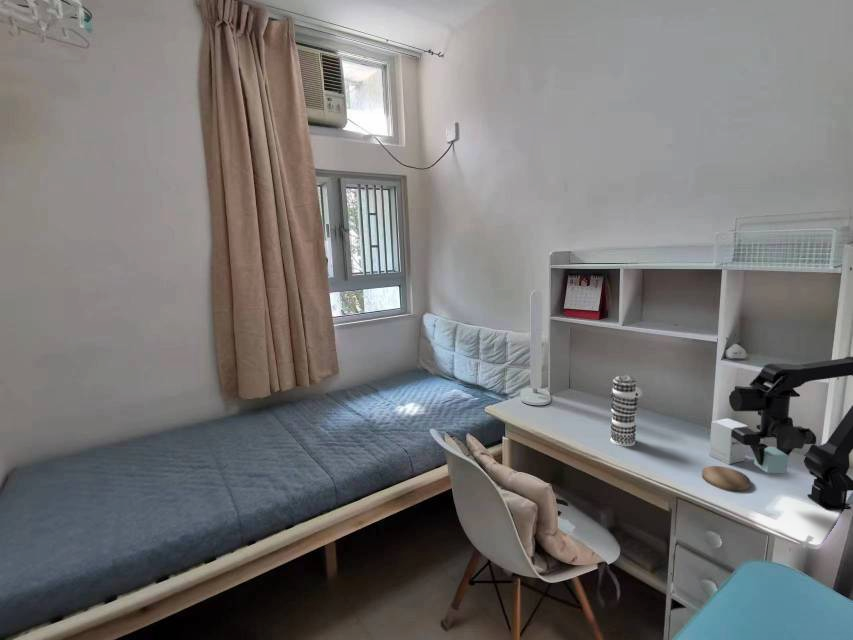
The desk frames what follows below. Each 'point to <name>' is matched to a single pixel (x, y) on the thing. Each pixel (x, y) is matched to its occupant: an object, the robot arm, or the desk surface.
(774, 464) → the teal block
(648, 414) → the desk surface
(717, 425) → the supplement box
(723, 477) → the walnut base
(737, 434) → the robot arm
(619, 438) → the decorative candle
